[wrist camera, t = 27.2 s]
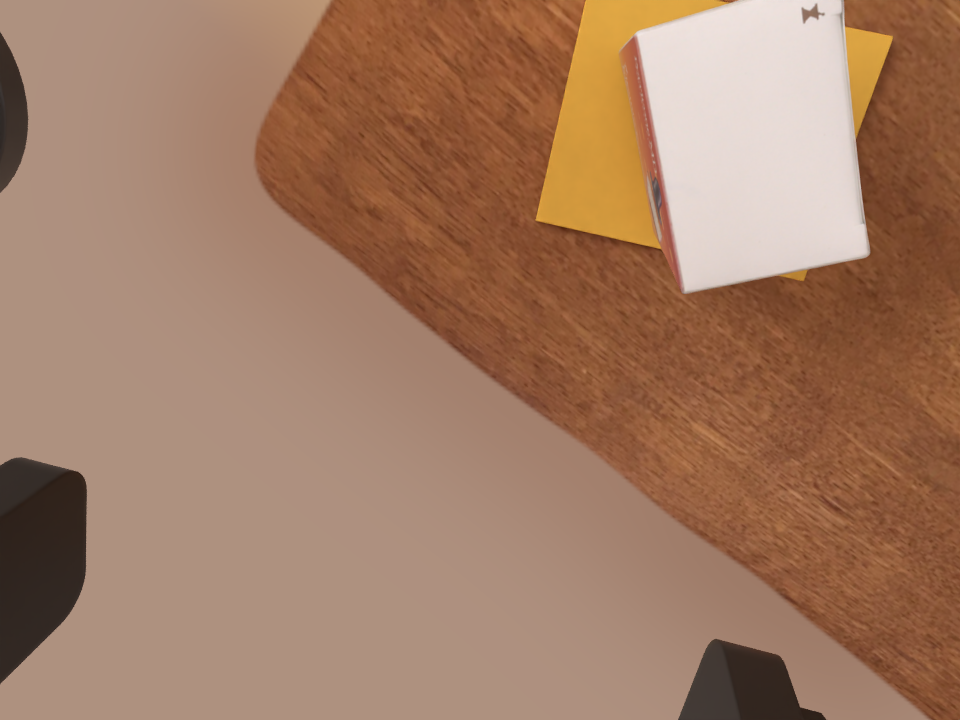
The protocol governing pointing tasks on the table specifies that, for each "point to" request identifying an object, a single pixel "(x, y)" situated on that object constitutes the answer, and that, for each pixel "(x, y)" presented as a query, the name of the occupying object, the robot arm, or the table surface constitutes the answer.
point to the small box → (748, 140)
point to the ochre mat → (609, 125)
